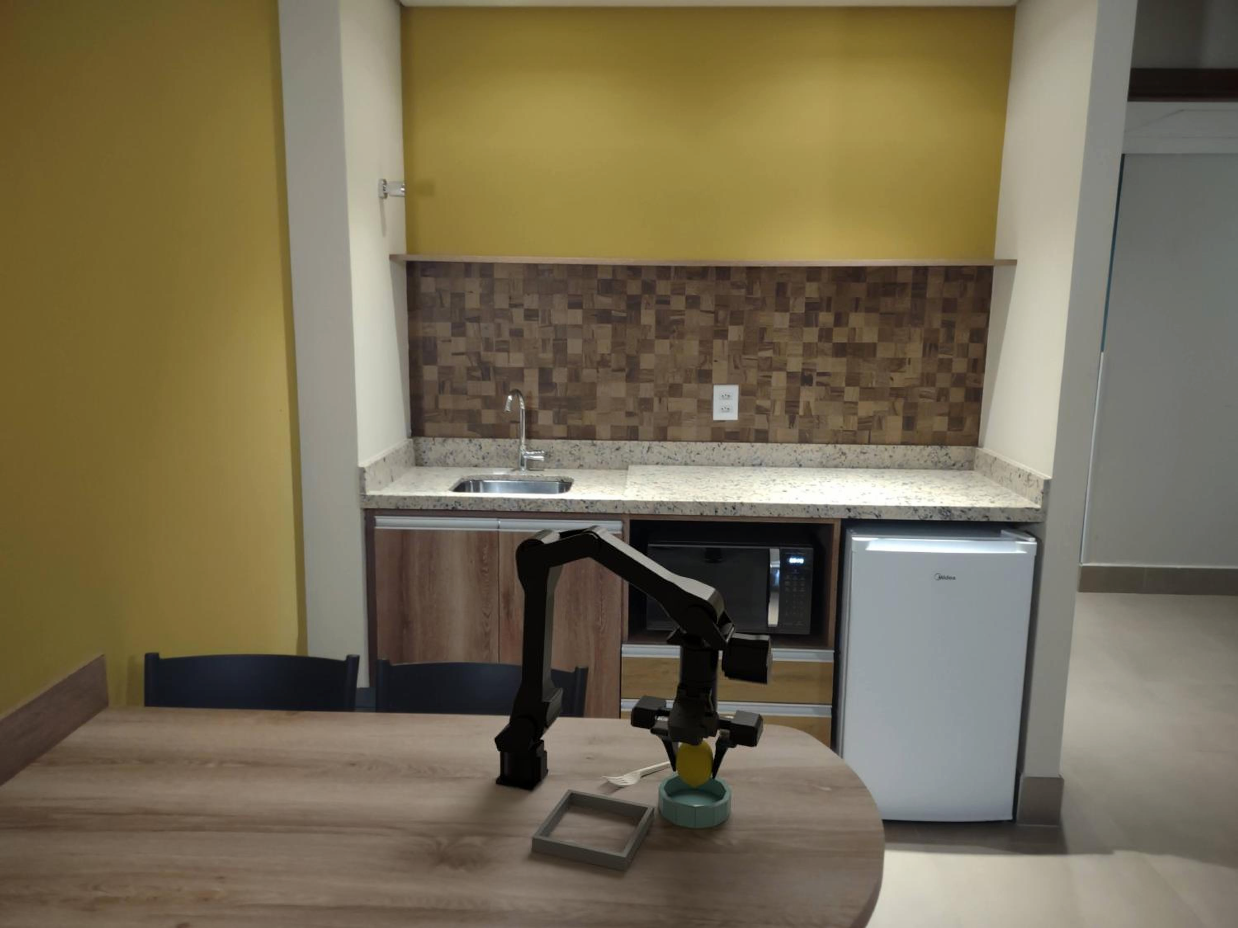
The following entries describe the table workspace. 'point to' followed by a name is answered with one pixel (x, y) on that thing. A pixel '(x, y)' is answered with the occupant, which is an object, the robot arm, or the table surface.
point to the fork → (636, 775)
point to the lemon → (694, 763)
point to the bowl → (694, 802)
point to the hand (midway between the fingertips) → (694, 774)
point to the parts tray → (586, 852)
